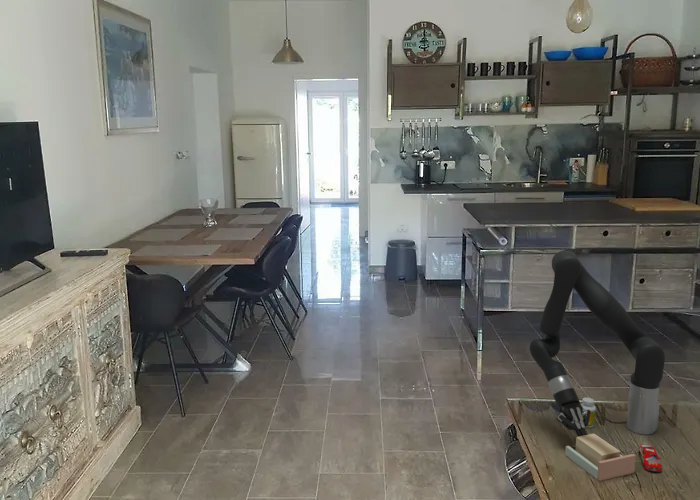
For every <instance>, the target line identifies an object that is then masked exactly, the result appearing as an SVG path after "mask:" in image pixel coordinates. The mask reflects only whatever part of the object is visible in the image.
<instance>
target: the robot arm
mask: <svg viewBox="0 0 700 500" xmlns="http://www.w3.org/2000/svg"><path fill="white" fill-rule="evenodd" d="M551 268H552V271H553V272H554V274H553V275H554V277H553V279H554V280H553V286H552V290H551V293H550V296H549V297H548V301H547V302H546V304H545V306H544V310H543V312H542V315H541V319H540V324H539V331H540V332H541V333H543V334H545V337H544V338H534V339H532V341H531V342H530V343H529V353H530V354H531V357H532V358H533V360H534V361H535V362H536V364H537V366H538V367H539V368H540V369H541V370H542V372H543V373H544V376H545V379H546V381H547V383H548V386H549V389H550V391H551V394H552V396H553V399H554V401H555V404H556V406H557V407H558V409H559V415H558V416H557V417H556V420H557V421H558V422H559V423H561V424H562V425H563V426H564V427H565V428H567V429H568V430H569V431H574V432H575V433H576V436H577V437H579V436H584V435H588V433H587V431H586V428H587V427H586V426H587V425H588V424H589V419H590V413H591V411H590V410H585V409H583V407H582V406H581V403H580V399H579V396H578V395H577V392H576V390H575V387H574V386H573V383H572V381H571V380H570V378H569V375H568V374H567V371H566V369H565V367H564V365H563V363H562V362H561V361H558V360H555V359H553V358H555V357H556V356H557V355H558V354H559V352H560V349H561V329H562V328H561V327H562V325H563V322H564V319H565V314H566V310H567V307H568V303H569V299H570V298H571V294H572V291H573V290H575V292H576V293H577V294H578V296H579V297H580V299H581V301H582V302H583V303H584V305H585V307H586V308H587V309H588V310H589V311H590V312H591V314H592V315H593V316H594V317H595V318H596V319H597V320H598V321H599V322H600V323H601V324H602V325H603V326H604V327H605V328H606V329H607V330H609V331H610V332H611V333H612V334H614V335H615V336H616V337H618V338H619V340H620V341H621V342H622V343H623V344H624V346H625V347H626V348H627V350H628V351H629V353H630V355H631V356H632V357H633V359H634V360H635V365H634V367H635V368H634V371H633V372H632V373H631V375H630V380H629V381H630V382H629V393H628V407H627V414H626V415H627V416H626V417H627V418H626V428H627V429H628V430H629V431H631V432H633V433H635V434H638V435H647V436H648V435H652V434H654V433H656V431H657V430H658V425H659V415H660V414H659V413H660V405H659V404H658V402H659V393H660V392H659V391H660V383H661V381H662V379H663V376H664V369H665V362H666V359H665V357H666V354H665V351H664V350H663V348H662V347H661V345H660V344H658V343H657V341H656V340H654V339H652V338H651V337H650V336H649V335H647V333H645V332H644V331H643V329H641V328H640V327H639V326H638V325H636V323H635V322H634V321H633V318H631V316H630V314H629V313H628V311H627V310H626V309H625V308H624V306H623V305H622V303H620V302H619V301H618V300H617V298H616V297H615V296H613V295H612V294H611V292H610V291H608V290H607V289H606V288H605V286H604V285H602V284H601V283H599V282H598V281H597V280H596V279H595V278H594V277H593V276H592V275H591V274H590V272H588V270H587V269H586V268H585V267H584V265H583V263H582V262H581V261H580V259H579V257H578V256H577V255H576V254H575V253H574V252H571V251H567V250H561V251H558V252H555V254H554V255H553V257H552V260H551ZM582 416H583V418H582Z"/></svg>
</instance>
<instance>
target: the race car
mask: <svg viewBox="0 0 700 500" xmlns="http://www.w3.org/2000/svg"><path fill="white" fill-rule="evenodd" d="M638 455H639V458H640V462H641V464H642V466H643V467H642V468H643V469H644V470H646V471H648V472H651V473H661V472H663V465H662V462H661V460H662V458H661V457H659V455H658V453H657V450H656V448H655V447H654V446H652V445H647V444H641V445H640V446H639V449H638Z"/></svg>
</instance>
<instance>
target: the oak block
mask: <svg viewBox="0 0 700 500" xmlns="http://www.w3.org/2000/svg"><path fill="white" fill-rule="evenodd" d="M574 450H575V451H576V452H578V453H579V454H580V455H582V456H583V457H584V458H586V459H587V460H588V461H590V462H591V463H593V464H594V465H595V466H597V467H598V462H599V461H603V460H608V459H612V458H617V457H620V454H621V452H622V451H620V450H619V449H618V448H616V447H615V446H613V445H612V444H610V443H609V442H607V441H606V440H604V438H603V439H602V438H601V437H600V436H598V435H597V434H595V433H590V434H589V433H588V434H587V435H584V436H579V437H578V436H577V437H576V440H575V449H574Z"/></svg>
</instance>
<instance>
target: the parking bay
mask: <svg viewBox="0 0 700 500" xmlns="http://www.w3.org/2000/svg"><path fill="white" fill-rule="evenodd" d="M564 455H565V456H566V457H567V458H569V460H571V461H573V462H574V463H575V464H576V465H578V466H579V467H581V469H583V470H584V471H585V472H587V474H589V475H590V476H592V477H593V478H595V479H596V480H598V481H599V482H601V481H606V480H610V479H614V478H618V477H622V476H627V475H630V474H634V473H635V471H636V470H635V469H636V467H635V466H636V456H637V455H636V454H634V453H632V454H631V453H630V454H626V455H622V454H621V453H620V457H617V458H612V459H608V460H603V461H599V462H598V467H597V466H595V465H594V464H593V463H591V462H590V461H588V460H587V459H586V458H584V457H583V456H582V455H580V454H579V453H578V452H576V451H575V449H574V448H572V447H571V446H570V445H566V446H565V453H564Z"/></svg>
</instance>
